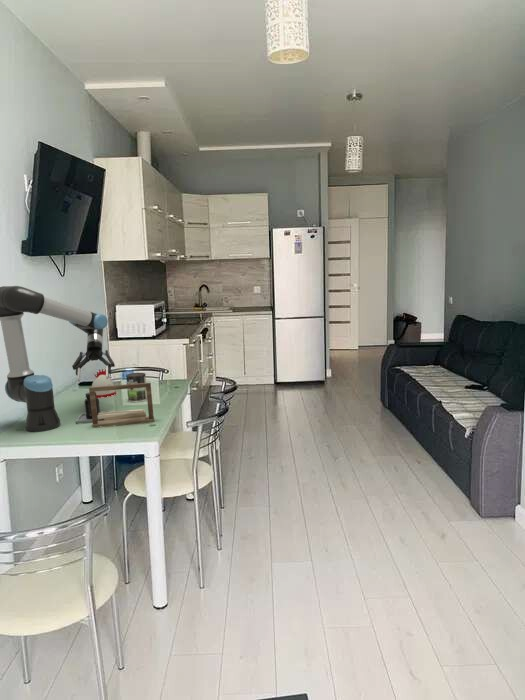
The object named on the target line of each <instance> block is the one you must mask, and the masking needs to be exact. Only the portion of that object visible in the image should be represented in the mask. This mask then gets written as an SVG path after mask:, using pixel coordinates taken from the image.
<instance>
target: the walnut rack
mask: <svg viewBox="0 0 525 700" xmlns="http://www.w3.org/2000/svg"><path fill="white" fill-rule="evenodd" d="M142 387H146V391H147V400H146V401H147V413H148V416H146V420H141V421H130V422H119V423H108V424H98V418H97V408H96V398H95V391H106V390H116V391H117V390H127V389H130V388H142ZM88 390H89V392H90V402H91V412H92V422H93V423H92V424H91V427H94V428H101V427H100V426H105V427H114V426H113V425H116V426H124V425H137V424H145V423H146V424H147V423H154V422H155V421H154V420H155V416H154V407H153V406H154V405H153V396H152V395H153V394H152V383H151V382H146V383H139V384H127V383H125V384H118V385H117V384H116V385H115V384H114V386H102V387H92V386H90V387H89V388H88ZM89 392H88V393H89Z"/></svg>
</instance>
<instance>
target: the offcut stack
mask: <svg viewBox="0 0 525 700" xmlns="http://www.w3.org/2000/svg"><path fill="white" fill-rule="evenodd" d="M104 412H105V413H99V414H98V416H97V417H98V418H99V420H98V424H108V423H119V422H130V421H141V420H146V417H147V413H146V411H145V410H144V408H142V409H141V408H140V409H129V410H118V411H117V410H116V411H109V412H106V411H104Z"/></svg>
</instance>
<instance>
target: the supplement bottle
mask: <svg viewBox="0 0 525 700" xmlns="http://www.w3.org/2000/svg"><path fill="white" fill-rule="evenodd" d="M96 396H97V395H96V392H95V398H96V408H97V416H98V414H99V413H101V412H102V411H101V403H100V398H97V397H96ZM83 404H84V411H85V413H86V418H87V419H92V412H91V402H90V392H86V393H85V400H84V401H83ZM97 418H98V417H97Z"/></svg>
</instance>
